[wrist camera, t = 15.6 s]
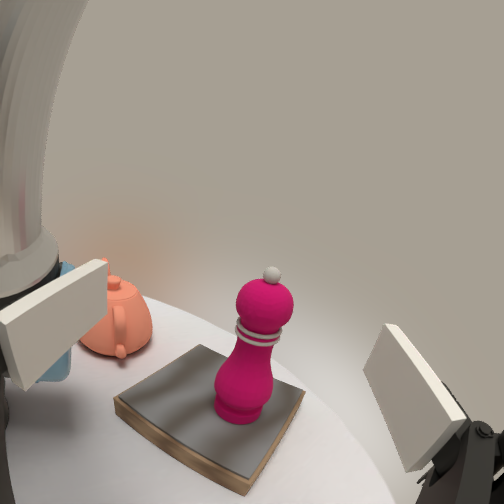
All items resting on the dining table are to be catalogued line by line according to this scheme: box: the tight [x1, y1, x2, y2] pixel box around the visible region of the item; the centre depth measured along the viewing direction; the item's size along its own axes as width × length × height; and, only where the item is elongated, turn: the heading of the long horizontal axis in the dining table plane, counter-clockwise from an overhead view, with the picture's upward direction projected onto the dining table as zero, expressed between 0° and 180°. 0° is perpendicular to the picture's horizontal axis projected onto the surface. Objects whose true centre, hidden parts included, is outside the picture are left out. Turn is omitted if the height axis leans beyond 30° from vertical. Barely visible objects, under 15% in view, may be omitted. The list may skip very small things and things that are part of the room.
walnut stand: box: [113, 344, 306, 497], centre depth 34 cm, size 20×20×4 cm
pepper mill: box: [214, 267, 294, 424], centre depth 30 cm, size 7×7×20 cm
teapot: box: [79, 258, 152, 359], centre depth 46 cm, size 22×16×12 cm
